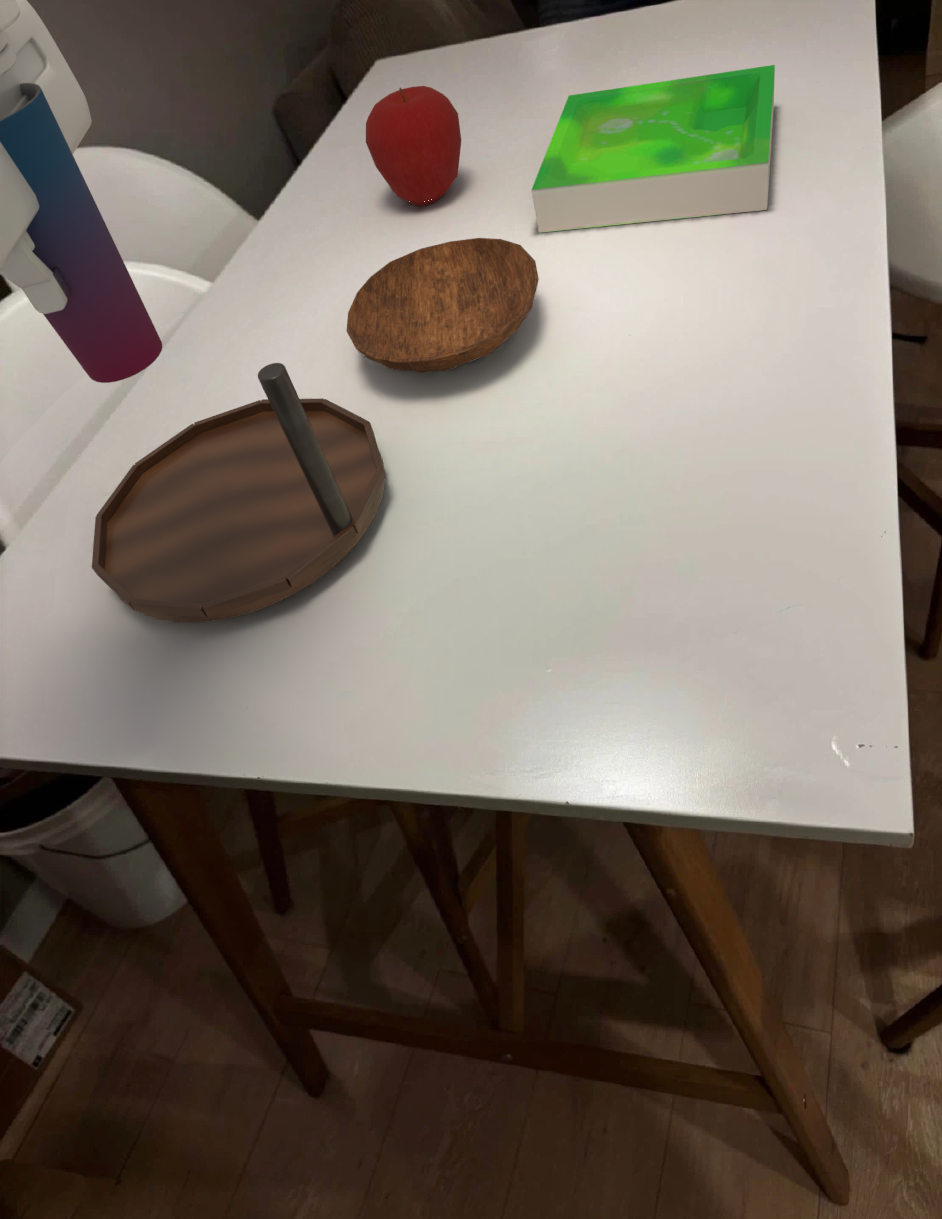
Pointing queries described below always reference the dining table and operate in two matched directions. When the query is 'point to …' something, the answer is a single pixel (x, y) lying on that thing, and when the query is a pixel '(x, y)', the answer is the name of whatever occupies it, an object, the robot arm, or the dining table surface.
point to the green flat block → (659, 152)
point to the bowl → (443, 304)
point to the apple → (415, 143)
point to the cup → (79, 250)
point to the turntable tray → (240, 507)
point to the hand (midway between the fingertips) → (73, 273)
